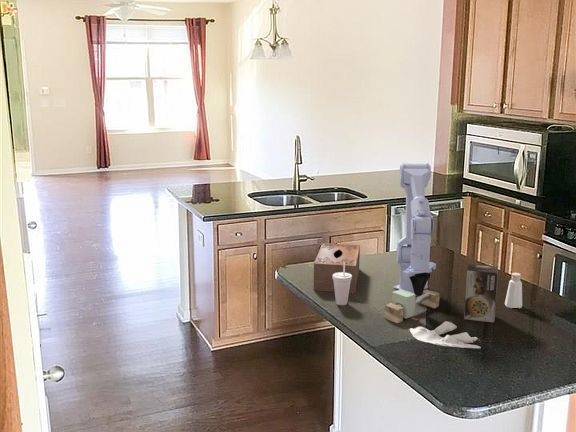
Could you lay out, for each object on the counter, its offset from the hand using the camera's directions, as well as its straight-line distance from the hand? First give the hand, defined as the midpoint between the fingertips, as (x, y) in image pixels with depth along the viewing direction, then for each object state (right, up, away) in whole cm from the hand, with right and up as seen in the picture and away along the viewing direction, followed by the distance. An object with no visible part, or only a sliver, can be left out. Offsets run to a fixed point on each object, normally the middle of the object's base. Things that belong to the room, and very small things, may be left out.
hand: (418, 294), depth 193 cm
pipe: (-2, -3, -1) cm, 4 cm away
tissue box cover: (-23, +1, +30) cm, 38 cm away
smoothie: (-24, -4, +7) cm, 25 cm away
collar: (-5, -6, -3) cm, 9 cm away
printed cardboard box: (+18, -7, -4) cm, 20 cm away
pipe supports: (-2, -5, 0) cm, 6 cm away
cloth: (+6, -10, -17) cm, 21 cm away
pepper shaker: (+32, -4, +5) cm, 33 cm away
